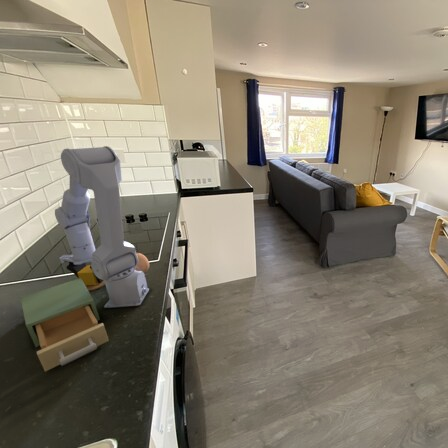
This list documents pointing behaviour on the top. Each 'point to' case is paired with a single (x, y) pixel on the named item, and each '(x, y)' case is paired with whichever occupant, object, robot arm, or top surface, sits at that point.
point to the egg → (142, 263)
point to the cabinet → (55, 304)
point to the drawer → (69, 337)
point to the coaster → (95, 286)
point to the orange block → (87, 276)
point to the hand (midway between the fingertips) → (93, 281)
